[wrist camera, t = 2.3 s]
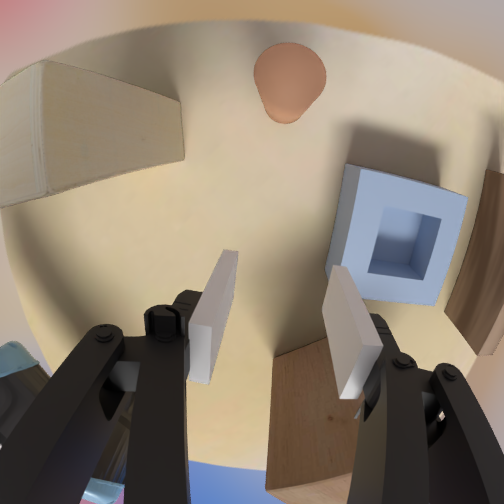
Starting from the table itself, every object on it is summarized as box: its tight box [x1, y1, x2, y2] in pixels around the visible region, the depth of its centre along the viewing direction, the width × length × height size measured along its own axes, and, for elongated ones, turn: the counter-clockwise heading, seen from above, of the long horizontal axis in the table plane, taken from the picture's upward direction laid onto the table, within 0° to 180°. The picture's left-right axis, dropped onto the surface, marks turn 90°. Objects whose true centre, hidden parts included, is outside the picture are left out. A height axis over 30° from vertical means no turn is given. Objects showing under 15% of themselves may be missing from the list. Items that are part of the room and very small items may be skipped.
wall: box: [444, 170, 504, 356], centre depth 25 cm, size 3×20×10 cm, turn 173°
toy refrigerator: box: [0, 60, 184, 208], centre depth 19 cm, size 8×7×21 cm
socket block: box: [325, 163, 468, 306], centre depth 28 cm, size 12×12×6 cm
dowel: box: [254, 43, 326, 124], centre depth 20 cm, size 4×4×14 cm
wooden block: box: [265, 337, 365, 504], centre depth 29 cm, size 10×10×20 cm
